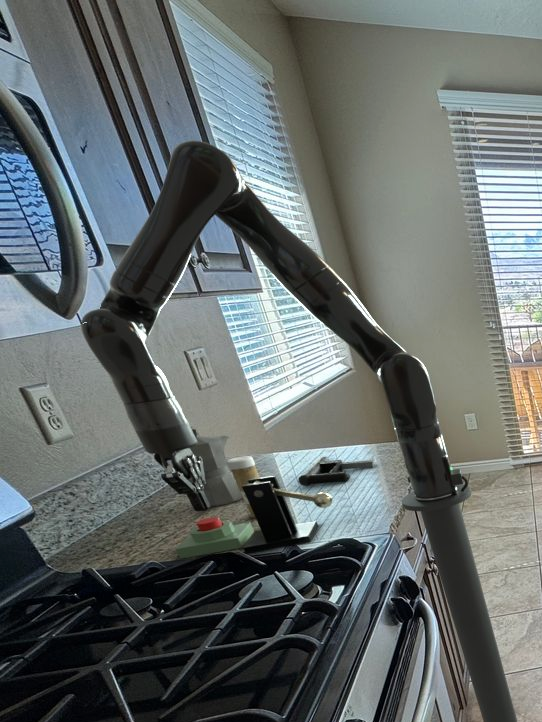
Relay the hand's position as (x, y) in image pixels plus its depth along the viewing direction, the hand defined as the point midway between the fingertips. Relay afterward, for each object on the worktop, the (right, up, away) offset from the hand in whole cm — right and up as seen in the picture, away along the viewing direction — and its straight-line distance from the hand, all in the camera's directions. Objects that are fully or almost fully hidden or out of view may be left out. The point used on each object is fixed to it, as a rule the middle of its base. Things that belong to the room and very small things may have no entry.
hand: (203, 509), depth 112 cm
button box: (0, -7, +3) cm, 8 cm away
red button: (0, -4, +2) cm, 4 cm away
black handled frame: (-2, +12, +44) cm, 46 cm away
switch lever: (+16, +2, +2) cm, 16 cm away
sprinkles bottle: (-3, 0, +18) cm, 18 cm away
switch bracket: (+13, -6, +4) cm, 15 cm away
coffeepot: (-21, +3, +28) cm, 35 cm away
